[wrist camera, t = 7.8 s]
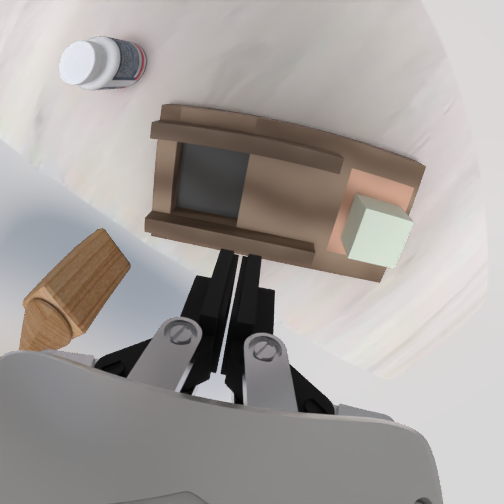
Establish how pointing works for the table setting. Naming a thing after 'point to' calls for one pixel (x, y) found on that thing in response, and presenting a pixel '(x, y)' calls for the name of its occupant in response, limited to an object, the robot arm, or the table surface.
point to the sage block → (375, 231)
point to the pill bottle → (102, 63)
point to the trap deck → (269, 187)
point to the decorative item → (72, 293)
